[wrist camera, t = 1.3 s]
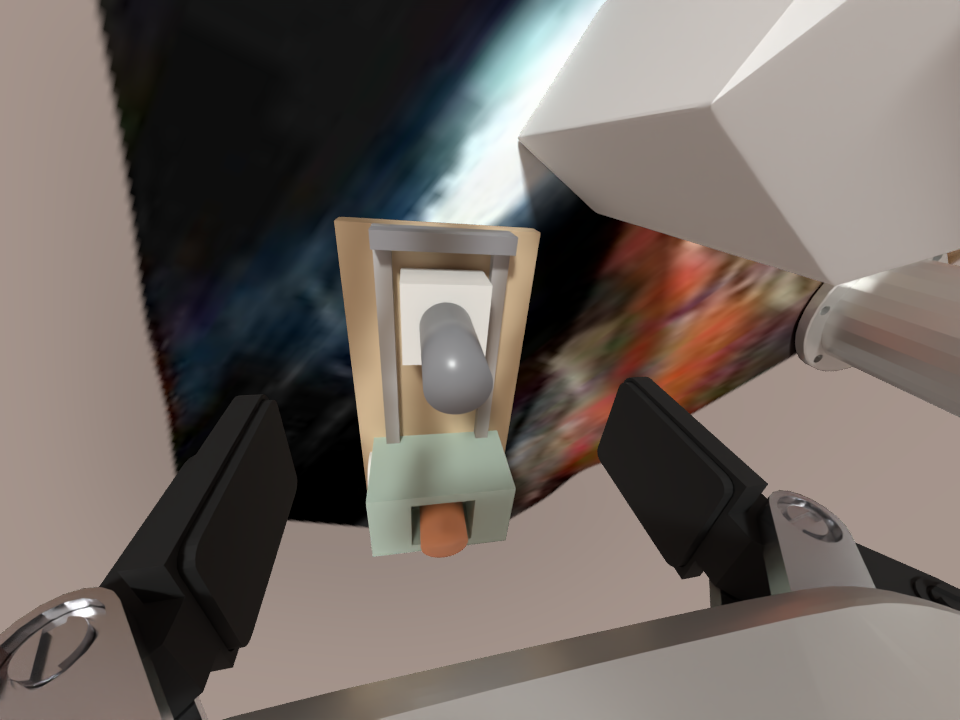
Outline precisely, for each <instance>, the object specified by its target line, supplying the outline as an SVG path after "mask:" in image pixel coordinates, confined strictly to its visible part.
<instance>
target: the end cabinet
mask: <svg viewBox="0 0 960 720" xmlns="http://www.w3.org/2000/svg"><path fill="white" fill-rule="evenodd" d="M515 490H516V488H515V485H514V482H513V478H512V475H511V472H510V469H509V466H508V463H507V460H506V457H505V454H504V450H503V447H502V444H501V441H500V438H499V435H498V432H497V430H494V431H488V436H487V438H475V435H474V432H460V433H444V434H427V435H410V436H400V443H395V444H387V443H386V437H376V438H374V442H373V450H372V452H370V454H369V460H368V491H367V499H366V507H367V515H368V522H369V530H370V538H371V546H372V554H373V557H374V556H383V555H391V554H399V553H407V552H415V551H422V550H421V541H420V508H419V507H420V506H422V505H432V504H442V503H452V502H462V503H463V510H464V516H465V523H466V529H467V536H468V543H467V545H470V544H479V543H487V542H495V541H504V540H506V535H507V530H508V525H509V520H510V515H511V510H512V505H513V500H514V495H515Z"/></svg>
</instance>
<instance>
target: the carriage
mask: <svg viewBox="0 0 960 720" xmlns="http://www.w3.org/2000/svg"><path fill="white" fill-rule="evenodd" d="M492 287H493V286H492V284H491V283H490V281H489V279H488V278H487V276H486V275H485V273H484V272H483V270H456V269H426V268H401V271H400V309H401V337H402V365H422V380H423V393H424V396H425V399H426V400H427V402H428V403H429V404H430V405H431V406H432V407H433V408H434V409H436V410H438V411H440V412H442V413H446V414H455V415H457V414H464V413H468V412H471V411H473V410H475V409H477V408H478V407H480V406H481V405H482V404H483V403H485V401H486V400H487V399H488V398H489V396H490V394H491V392H492V388H493V377H492V374H491V371H490V369H489V366H488V363H487V361H486V358H485V354H486V345H487V335H488V326H489V316H490V306H491V297H492Z"/></svg>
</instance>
